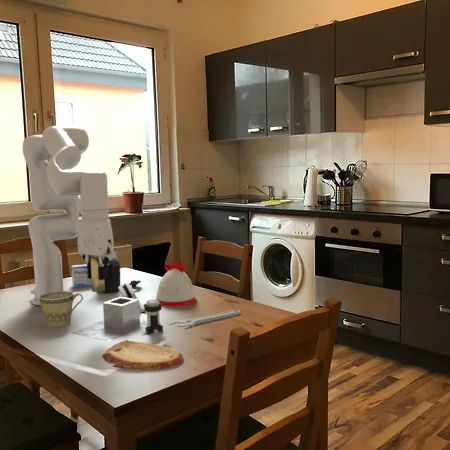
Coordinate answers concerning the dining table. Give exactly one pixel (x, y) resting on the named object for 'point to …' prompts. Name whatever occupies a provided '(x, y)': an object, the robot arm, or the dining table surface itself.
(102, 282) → the brass pin
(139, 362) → the bread slice
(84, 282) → the medicine box
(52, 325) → the ceramic cup
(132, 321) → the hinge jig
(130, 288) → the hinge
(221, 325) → the dining table surface
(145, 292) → the dining table surface
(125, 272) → the dining table surface
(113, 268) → the milk frother
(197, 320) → the adjustable wrench
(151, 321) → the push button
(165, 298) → the kitchen timer
